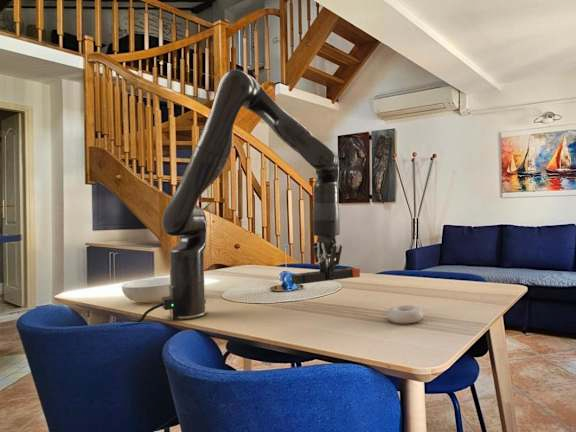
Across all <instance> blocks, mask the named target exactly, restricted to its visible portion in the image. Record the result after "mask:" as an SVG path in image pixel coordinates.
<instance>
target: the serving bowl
mask: <svg viewBox="0 0 576 432" xmlns="http://www.w3.org/2000/svg"><path fill="white" fill-rule="evenodd" d="M169 285H170V276H161V277H151V278H150V277H149V278H143V279H138V280H132V281H128V282H125V283H123V284H121V286H120V287H121V291H122V293H123V295H124V297H126V298H127V299H128V300H130V301H133V302H137V303H144V304H155V303H162V297H168V296H169Z"/></svg>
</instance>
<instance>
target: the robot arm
mask: <svg viewBox="0 0 576 432" xmlns="http://www.w3.org/2000/svg"><path fill="white" fill-rule="evenodd" d="M241 108H244V109H246V110H248V111H250V112H252V113H253V114H255V115H256V116H258V117H259V118H260V119H261V120H263V121H264V122H265V123H266V125H268V127H270V129H271V130H272V131H273V132H274V134H275V135H276V136H277V137H278V138H279V139H280V140H282V142H284V144H286V145H287V146H288V147H289V148H291V149H292V150H293V151H294V152H295V153H297V154H299V155H300V156H301V158H302V159H304V161H306V162H307V164H309V166H311V167H312V168H313V169H314V170H315V183H314V185H313V188H312V200H313V201H312V204H313V205H312V235H313V236H314V237H315V236H316V237H317V238H316V242H312V244H311V245H312V252H313V257H314V261H315V263H317V265H318V266H319V271H325V270H326V279H327V280H328V281H335V280H334V269H335V267H336V266H338V265H340V260H341V255H342V251H343V250H342V249H343V246H342V244H338V243H337V237H336V236H339V235H340V232H341V231H340V206H339V187H338V185H339V176H340V159H339V156H338V154H337V153H336V152H335V151H334V150H333V149H331V148H330V147H329V146H327V145H326V144H325V143H324V142H322V141H321V140H320V139H318V138H317V137H316V136H315V135H314V134H313V133H312V132H311V131H310V130H309V129H308V128H307V127H305V125H303V124H302V123H301V122H300V121H298V120H297V119H296V118H295V117H294V116H292V115H291V114H289V113H288V112H287V111H286V110H285V109H284V108H283V107H281V106H280V105H279V104H278V103H277V102H276V101H275V100H274V99H273V98H272V97H271V96H270V95H269V94H268V92H266V91H265V89H264V88H263V86H261V84H260V83H259V82H258V81H257V79H256V78H255V77H253V76H252V75H250V74H248V73H247V72H245V71H243V70H241V69H237V68H233V69H230V70H227V71H226V72H225V73H224V74H223V75H222V76H221V78H220V80H219V83H218V86H217V89H216V92H215V95H214V99H213V102H212V106H211V109H210V111H209V114H208V117H207V119H206V121H205V124H204V126H203V129H202V131H201V134H200V135H199V137H198V140H197V142H196V144H195V147H194V150H193V152H192V153H191V156H190V158H189V162H188V164H187V167H186V169H185V171H184V172H183V176H182V177H181V179H180V182H179V184H178V185H177V188H176V190H175V191H174V193H173V195H172V197H171V198H170V201H168V204H167V206H166V207H165V210H164V211H163V214H162V218H161V226H162V230H163V231H164V233H166V235H168V236H171V237H179V239H178V243H177V244H176V245H175V246H174V247H172V248H171V249H170V250H169V256H168V257H169V277H170V285H169V296H168V297H162V302H160V303H159V304H156V305H154V306H152V307H150V308H148V309H147V310H145V312H144V313H143V314H142V316H141V317H140V318H139V319H137V320H135V321H134V320H133V322H139V323H141V322H142V321H143V320H144V319H145V318H146V317H147V315H148V314H149V313H151V312H153V311H155V310H156V309H158V308H161V307H162V309H163V310H164V311H169V317H170V319H172V320H173V321H177V320H191V319H197V318H200V317H203V316H205V315H206V303H207V301H206V294H205V292H206V290H205V261H204V260H205V259H204V257H205V256H204V255H205V254H204V253H205V250H206V247H207V227H208V226H207V224H208V223H207V222H208V221H207V216H206V213H205V211H204V209H203V208H201V207H200V206H198V205H197V203H198V201H199V199H200V197H201V196H202V195H203V194H204V192H205V191H206V190H207V189H208V188H209V187H210V186H211V185H213V183H214V182H216V181H217V179H218V178H219V177H220V176H221V174H222V173H223V171H224V169H225V167H226V164H227V162H228V160H229V158H230V155H231V152H232V147H233V146H232V145H233V131H234V130H233V129H234V124H235V121H236V119H237V117H238V115H239V112H240V110H241ZM123 322H124V321H120V322H119V323H123Z"/></svg>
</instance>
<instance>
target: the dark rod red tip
mask: <svg viewBox="0 0 576 432" xmlns="http://www.w3.org/2000/svg"><path fill="white" fill-rule="evenodd" d="M360 277H361V268H358V267H353V266H351V267H344V268H334V280H333V281H337V280H343V279H344V280H345V279H351V278H352V279H354V278H360ZM327 281H328V280H327V279H326V270H325V271H320V270H317V271H308V272H299V273H291V284H294V285H304V284H312V283H320V282H327Z"/></svg>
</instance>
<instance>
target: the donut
mask: <svg viewBox="0 0 576 432" xmlns="http://www.w3.org/2000/svg"><path fill="white" fill-rule="evenodd" d="M423 316H424V312H423V310H422V309H421V308H420V307H419V306H415V305H409V304H401V305H395V306H392V307H389V309H387V311H386V318H387V319H388V321H389V322H391V323H394V324H401V325H407V324H414V323H418V322H419V321H421V320H422V319H423Z"/></svg>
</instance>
